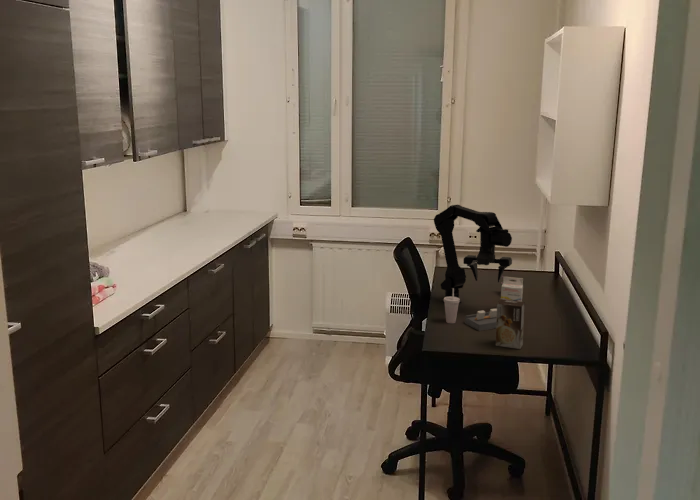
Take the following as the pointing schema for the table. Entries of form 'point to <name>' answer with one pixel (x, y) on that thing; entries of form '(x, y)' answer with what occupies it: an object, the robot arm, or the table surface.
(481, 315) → the breaker paddles
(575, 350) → the table surface
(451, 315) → the smoothie
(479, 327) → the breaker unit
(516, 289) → the ink cartridge box
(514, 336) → the coffee box
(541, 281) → the table surface
